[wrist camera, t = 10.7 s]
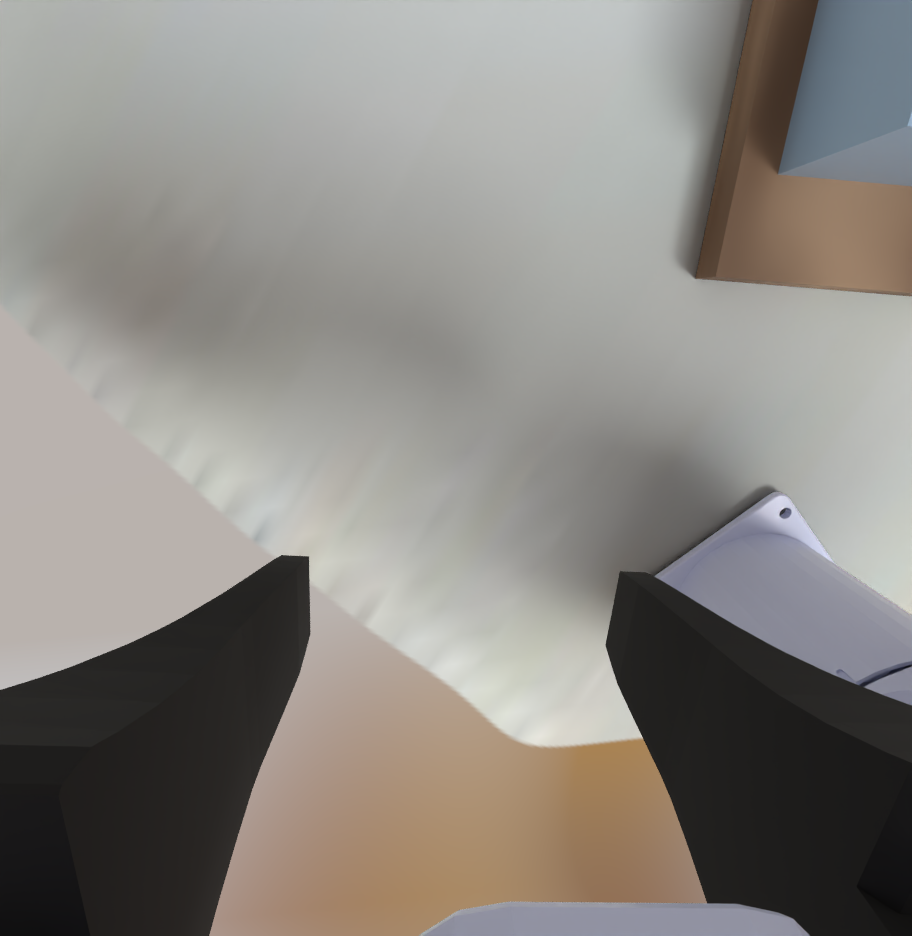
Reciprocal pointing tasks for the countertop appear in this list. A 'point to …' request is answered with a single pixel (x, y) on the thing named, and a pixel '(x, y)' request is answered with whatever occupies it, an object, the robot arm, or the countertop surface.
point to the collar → (855, 95)
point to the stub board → (795, 185)
